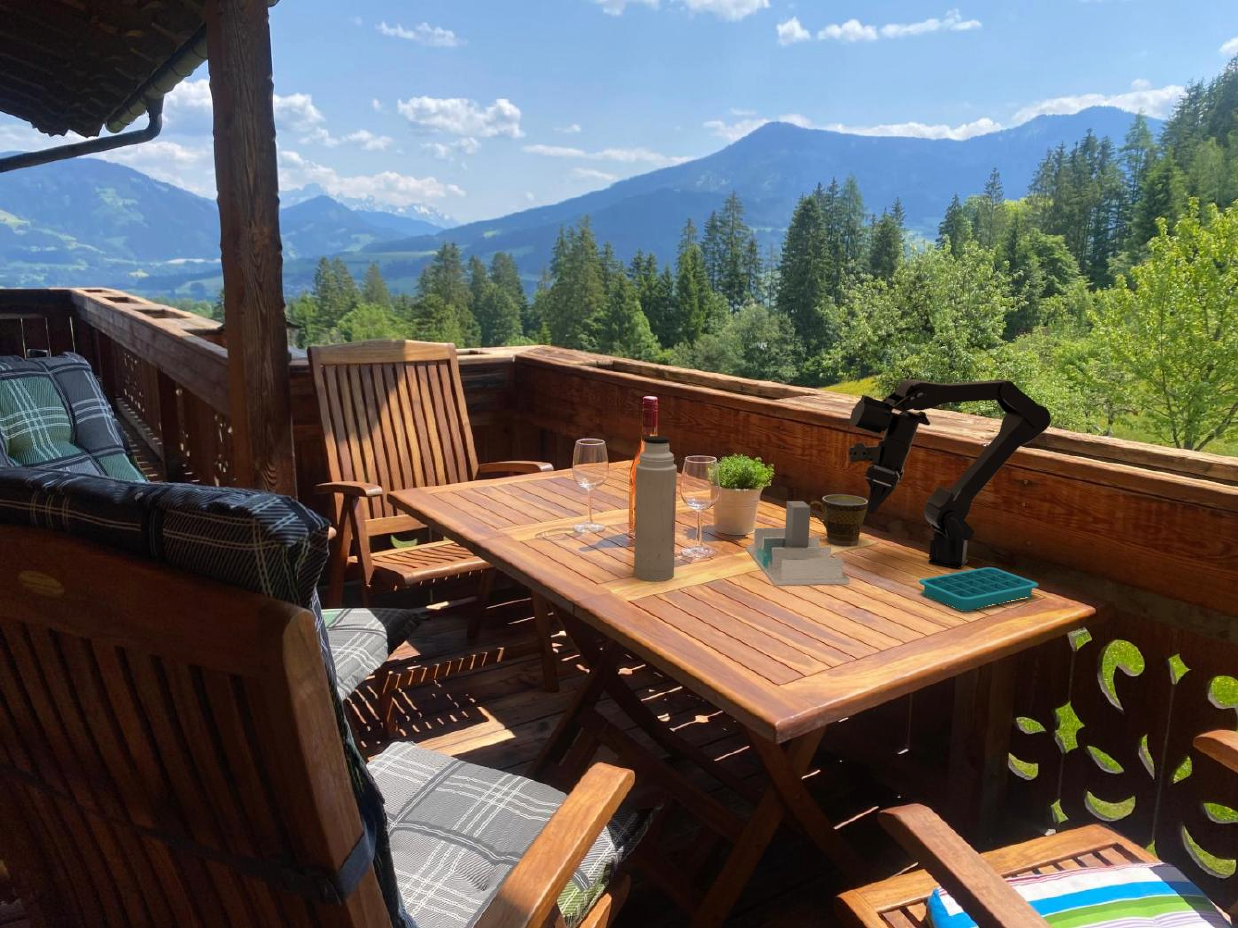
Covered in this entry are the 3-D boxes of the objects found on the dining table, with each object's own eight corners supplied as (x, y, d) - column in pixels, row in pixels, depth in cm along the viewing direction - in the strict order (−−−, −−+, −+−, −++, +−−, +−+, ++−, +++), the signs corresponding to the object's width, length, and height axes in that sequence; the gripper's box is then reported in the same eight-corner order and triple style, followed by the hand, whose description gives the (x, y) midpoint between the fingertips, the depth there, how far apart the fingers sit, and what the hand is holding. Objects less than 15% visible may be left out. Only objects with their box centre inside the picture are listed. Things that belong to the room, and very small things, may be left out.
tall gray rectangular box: (799, 556, 180) (803, 501, 178) (807, 563, 176) (810, 507, 173) (783, 556, 180) (786, 501, 178) (790, 564, 175) (793, 507, 173)
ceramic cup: (860, 536, 200) (863, 495, 198) (868, 549, 190) (871, 505, 188) (804, 534, 201) (806, 493, 199) (809, 546, 191) (811, 503, 189)
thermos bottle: (676, 570, 174) (680, 434, 169) (670, 582, 167) (674, 441, 161) (637, 566, 176) (640, 432, 170) (630, 579, 168) (633, 439, 162)
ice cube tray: (914, 595, 163) (915, 580, 162) (989, 580, 172) (991, 566, 171) (963, 616, 153) (964, 600, 152) (1040, 599, 161) (1041, 584, 161)
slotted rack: (812, 548, 190) (814, 526, 189) (849, 583, 167) (851, 559, 166) (746, 549, 189) (747, 527, 188) (774, 585, 166) (776, 560, 165)
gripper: (863, 426, 186) (840, 493, 189) (853, 428, 169) (828, 502, 172) (914, 442, 183) (889, 510, 185) (910, 447, 165) (882, 521, 168)
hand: (871, 510), depth 178 cm, fingers open, 9 cm apart
